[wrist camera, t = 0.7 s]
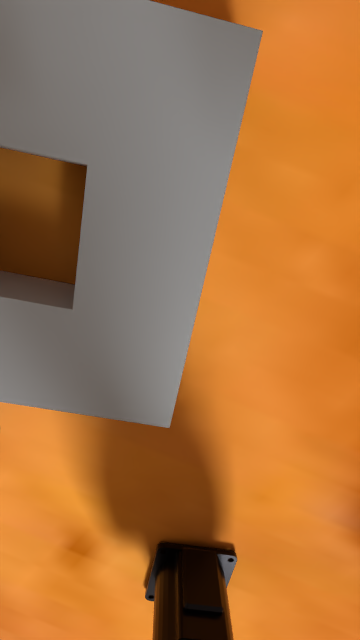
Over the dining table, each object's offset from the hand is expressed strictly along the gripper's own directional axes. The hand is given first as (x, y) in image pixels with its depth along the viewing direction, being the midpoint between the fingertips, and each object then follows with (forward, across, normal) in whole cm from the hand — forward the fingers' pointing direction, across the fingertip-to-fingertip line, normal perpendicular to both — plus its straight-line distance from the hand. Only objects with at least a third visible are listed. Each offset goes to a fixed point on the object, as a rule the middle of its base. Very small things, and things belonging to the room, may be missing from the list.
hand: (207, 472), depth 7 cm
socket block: (+14, +9, -3) cm, 16 cm away
